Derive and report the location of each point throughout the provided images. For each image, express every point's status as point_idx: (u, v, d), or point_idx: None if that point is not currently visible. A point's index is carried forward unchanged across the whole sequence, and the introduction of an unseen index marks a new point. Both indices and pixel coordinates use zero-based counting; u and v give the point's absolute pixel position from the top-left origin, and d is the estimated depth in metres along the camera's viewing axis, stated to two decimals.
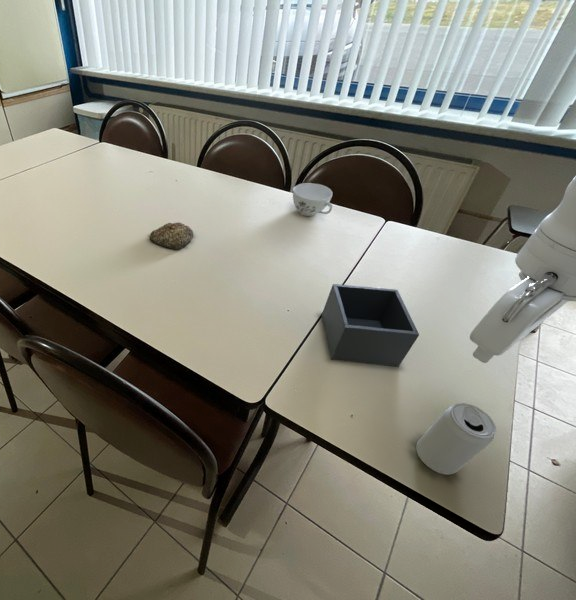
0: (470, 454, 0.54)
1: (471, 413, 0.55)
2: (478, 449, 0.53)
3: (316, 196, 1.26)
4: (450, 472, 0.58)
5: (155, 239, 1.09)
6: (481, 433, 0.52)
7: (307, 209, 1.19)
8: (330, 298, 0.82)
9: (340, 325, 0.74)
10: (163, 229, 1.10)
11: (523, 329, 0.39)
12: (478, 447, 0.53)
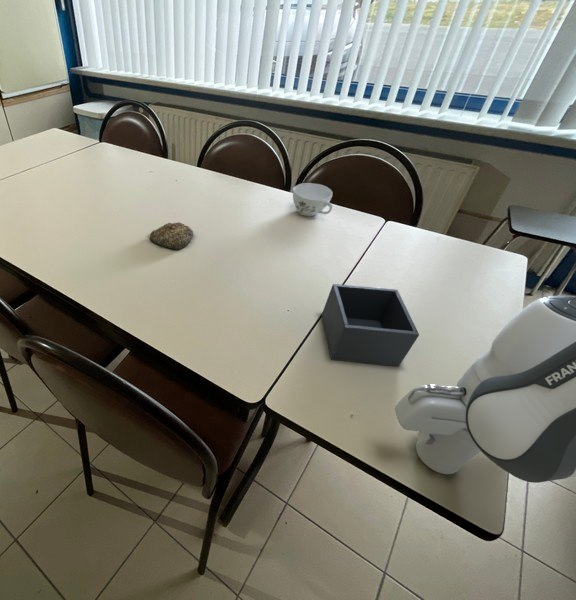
0: (469, 454, 0.54)
1: None
2: (478, 449, 0.53)
3: (316, 196, 1.26)
4: (450, 472, 0.58)
5: (155, 239, 1.09)
6: None
7: (307, 209, 1.19)
8: (330, 298, 0.82)
9: (340, 325, 0.74)
10: (163, 229, 1.10)
11: (416, 413, 0.52)
12: (477, 447, 0.53)
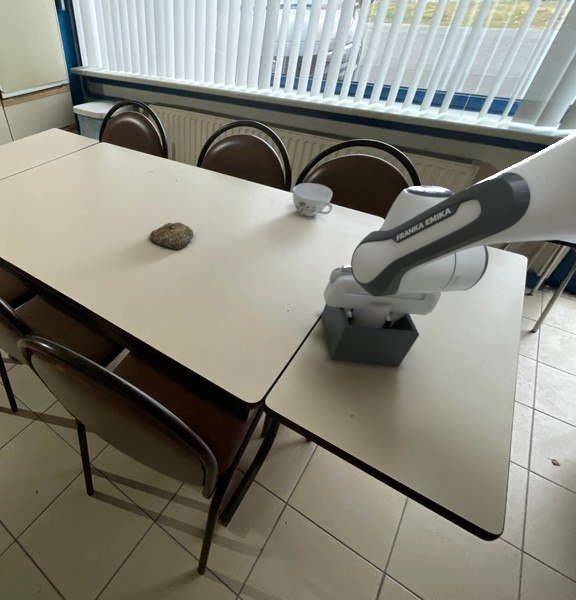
0: (376, 323, 0.74)
1: None
2: (380, 317, 0.73)
3: (316, 196, 1.26)
4: None
5: (155, 239, 1.09)
6: (381, 304, 0.72)
7: (307, 209, 1.19)
8: None
9: (340, 325, 0.74)
10: (163, 229, 1.10)
11: (334, 289, 0.71)
12: (380, 315, 0.72)
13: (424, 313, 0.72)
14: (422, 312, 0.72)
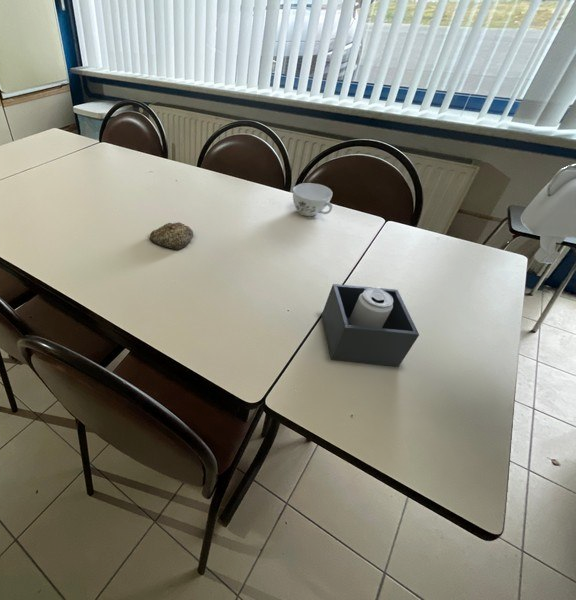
0: (376, 323, 0.74)
1: (378, 293, 0.74)
2: (381, 317, 0.73)
3: (316, 196, 1.26)
4: None
5: (155, 239, 1.09)
6: (381, 304, 0.72)
7: (307, 209, 1.19)
8: (330, 298, 0.82)
9: (340, 325, 0.74)
10: (163, 229, 1.10)
11: (560, 201, 0.44)
12: (380, 315, 0.72)
13: None
14: None
